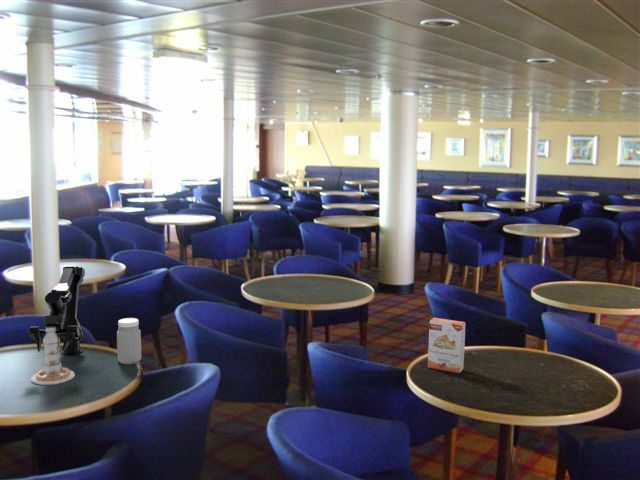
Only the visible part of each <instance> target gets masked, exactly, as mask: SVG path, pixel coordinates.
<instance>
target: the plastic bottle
mask: <svg viewBox="0 0 640 480" xmlns="http://www.w3.org/2000/svg"><path fill="white" fill-rule="evenodd" d="M45 330H46V334H44V336H43V338H42V346H43V350H44V367H43V368H44V372H45V375H46V376H49V377H52V376H57V375H60V374H61V372H62V367H63V366H62V363H61V356H60V346H61V344H60V343H61V339H60V335H59V334H57V333H56V332H55V331H56V326H47V327H45Z"/></svg>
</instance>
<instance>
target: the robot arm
mask: <svg viewBox="0 0 640 480" xmlns="http://www.w3.org/2000/svg"><path fill="white" fill-rule="evenodd" d="M85 275H86V269H85V268H83V267H82V266H76V265H74V264H73V265H72V264H71V265H69V264H68V265H64V266H62V273H61V276H60V279H59V282H58V284H57V285H56V286H54V287H53V289H51V290H50V292H48V293H46V295H45V296H44V301H45V303H46V305H47V308H48V309H49V311H50V312H49V314H48V315H45V316H44V320H43V322H44V324H43V325H45V328H46V327H47V326H56V331H55V332H56V333H57V335H59V338H60V342H63V345H62V352H61V355H62V354H63V355H67V356H75V355H78V354H81V353H83V352H84V350H82V349H81V341H82V340H84V333H83V330H82V328H81V324H80V321H78V318H77V317H78V302H79V290H80V289H79V288H80V285H81V284H82V283H83V282H84V277H85ZM65 304H66V305H65ZM27 334H28V335H29V337H30V339H32V340H33V341H35V343H36V348H37V352H38V353H40V352H41V348H42V344H43V342H42V340H43V338H42V336H43V335H44V336H45V334H46V329H41V326H38V325H37V326H36V325H35V326H30V327H28V330H27Z"/></svg>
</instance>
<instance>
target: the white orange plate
mask: <svg viewBox="0 0 640 480" xmlns="http://www.w3.org/2000/svg"><path fill="white" fill-rule="evenodd" d="M75 376H76V374H75V372H74V371H73V370H70V369H69V368H68V367H63V366H62V372H61V374H60V375H57V376H52V377H49V376H46V375H45V372H44V369H41V370H39V371H37V372H36V373H35V374H33V375H32V376H31V378H30V379H31V383H33V384H35V385H39V386H54V385H59V384H63V383H66V382H69V381H71V380H73V379H74V378H75Z"/></svg>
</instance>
